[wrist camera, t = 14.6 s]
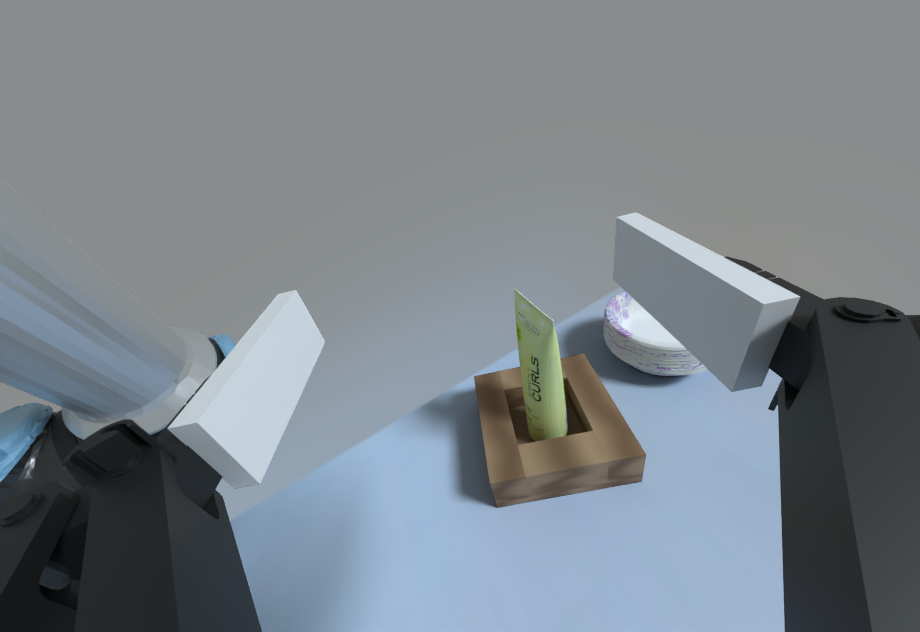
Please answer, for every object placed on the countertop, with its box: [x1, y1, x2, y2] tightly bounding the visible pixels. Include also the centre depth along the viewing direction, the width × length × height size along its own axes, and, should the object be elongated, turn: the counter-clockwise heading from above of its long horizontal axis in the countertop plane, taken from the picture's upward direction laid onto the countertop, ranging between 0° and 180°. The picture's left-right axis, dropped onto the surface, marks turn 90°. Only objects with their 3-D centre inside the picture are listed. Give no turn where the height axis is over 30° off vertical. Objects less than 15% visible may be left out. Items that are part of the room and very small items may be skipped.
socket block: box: [474, 354, 646, 508], centre depth 41 cm, size 16×16×5 cm
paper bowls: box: [604, 291, 707, 376], centre depth 47 cm, size 15×15×8 cm
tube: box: [514, 289, 568, 442], centre depth 36 cm, size 6×5×20 cm
